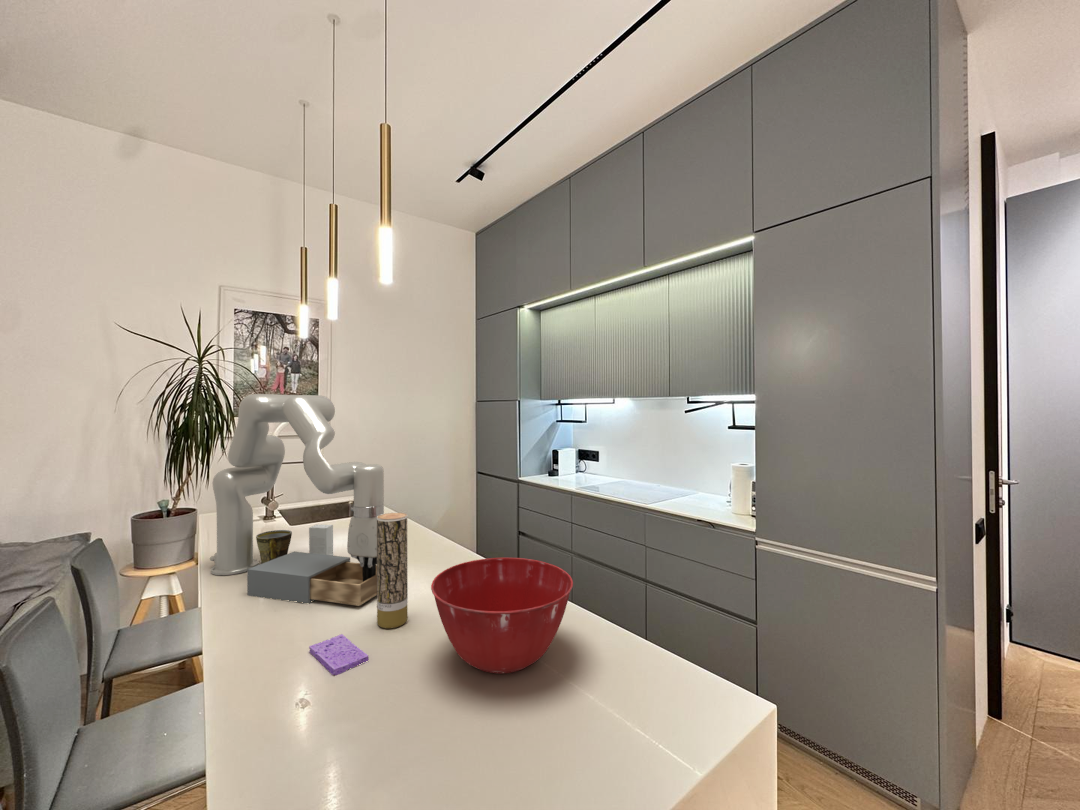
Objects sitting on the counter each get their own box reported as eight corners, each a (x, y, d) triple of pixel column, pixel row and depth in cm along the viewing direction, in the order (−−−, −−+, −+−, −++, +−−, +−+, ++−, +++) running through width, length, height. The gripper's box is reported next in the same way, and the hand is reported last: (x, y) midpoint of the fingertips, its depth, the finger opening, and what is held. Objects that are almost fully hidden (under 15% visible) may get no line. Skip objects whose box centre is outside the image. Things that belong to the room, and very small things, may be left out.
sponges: (342, 642, 101) (342, 633, 101) (369, 664, 93) (369, 654, 93) (308, 654, 96) (308, 645, 96) (333, 679, 88) (333, 668, 88)
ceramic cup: (258, 562, 152) (258, 531, 152) (292, 558, 156) (292, 528, 156) (252, 575, 140) (252, 542, 140) (290, 570, 144) (290, 538, 144)
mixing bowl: (596, 642, 100) (595, 570, 100) (524, 719, 75) (524, 623, 75) (489, 613, 114) (489, 549, 114) (400, 669, 90) (399, 589, 90)
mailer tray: (297, 597, 122) (297, 577, 122) (335, 578, 136) (335, 560, 136) (359, 605, 117) (359, 585, 117) (392, 585, 130) (392, 566, 130)
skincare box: (333, 561, 153) (333, 524, 153) (326, 565, 149) (326, 527, 149) (316, 560, 154) (316, 524, 154) (308, 564, 150) (308, 527, 150)
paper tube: (398, 631, 105) (398, 520, 105) (371, 628, 107) (370, 518, 107) (412, 617, 112) (412, 513, 112) (386, 615, 113) (386, 512, 113)
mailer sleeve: (247, 595, 126) (247, 569, 126) (294, 574, 141) (294, 551, 141) (308, 604, 120) (308, 576, 120) (350, 581, 135) (350, 557, 135)
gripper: (335, 512, 123) (335, 582, 123) (384, 516, 118) (384, 589, 118) (354, 506, 130) (354, 573, 130) (401, 510, 125) (401, 578, 125)
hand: (369, 580), depth 124 cm, fingers closed
